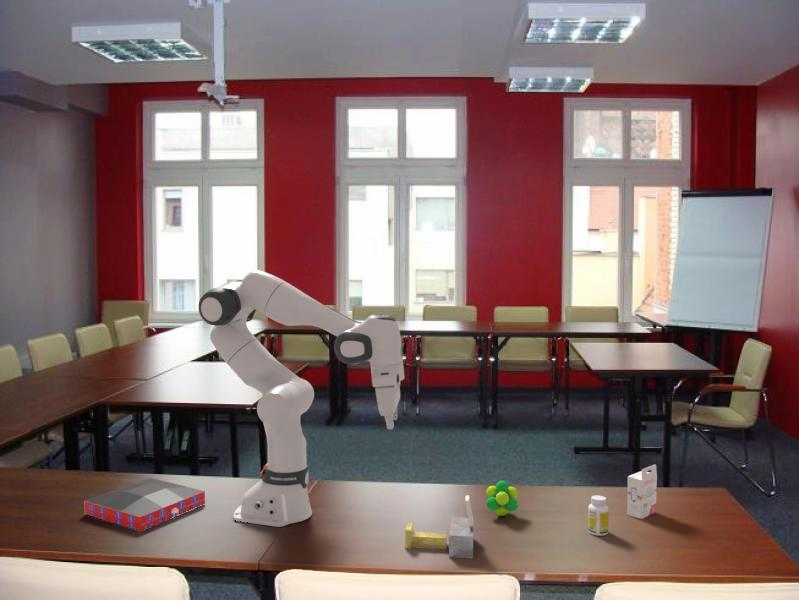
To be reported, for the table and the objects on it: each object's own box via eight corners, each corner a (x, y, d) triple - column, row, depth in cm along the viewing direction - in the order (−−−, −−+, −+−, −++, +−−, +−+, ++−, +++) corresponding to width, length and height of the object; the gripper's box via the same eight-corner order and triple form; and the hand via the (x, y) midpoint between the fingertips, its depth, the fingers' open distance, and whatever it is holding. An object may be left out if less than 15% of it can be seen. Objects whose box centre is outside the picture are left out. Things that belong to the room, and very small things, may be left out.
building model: (143, 534, 193) (142, 511, 193) (83, 516, 206) (83, 494, 205) (207, 507, 214) (207, 485, 213) (150, 492, 226) (149, 472, 226)
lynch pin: (405, 548, 184) (405, 530, 184) (407, 541, 189) (407, 522, 189) (445, 551, 183) (445, 532, 183) (446, 543, 188) (446, 524, 188)
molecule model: (501, 498, 214) (483, 486, 211) (520, 488, 210) (502, 476, 207) (501, 520, 208) (483, 508, 205) (520, 510, 204) (502, 498, 201)
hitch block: (448, 557, 179) (449, 535, 179) (451, 537, 192) (451, 516, 191) (472, 558, 179) (473, 536, 178) (473, 538, 191) (473, 517, 191)
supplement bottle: (608, 530, 197) (609, 495, 197) (607, 537, 192) (608, 502, 192) (588, 527, 199) (589, 493, 198) (586, 534, 194) (587, 499, 193)
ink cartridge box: (641, 508, 215) (642, 460, 213) (656, 512, 211) (658, 464, 210) (625, 514, 209) (627, 465, 208) (641, 519, 205) (642, 469, 204)
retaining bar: (469, 529, 183) (465, 500, 182) (470, 523, 186) (465, 495, 186) (473, 529, 182) (468, 500, 182) (473, 523, 186) (469, 495, 186)
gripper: (380, 367, 203) (385, 415, 204) (371, 382, 183) (376, 434, 184) (402, 366, 202) (407, 413, 203) (395, 380, 182) (400, 433, 183)
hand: (392, 423), depth 193 cm, fingers open, 8 cm apart
